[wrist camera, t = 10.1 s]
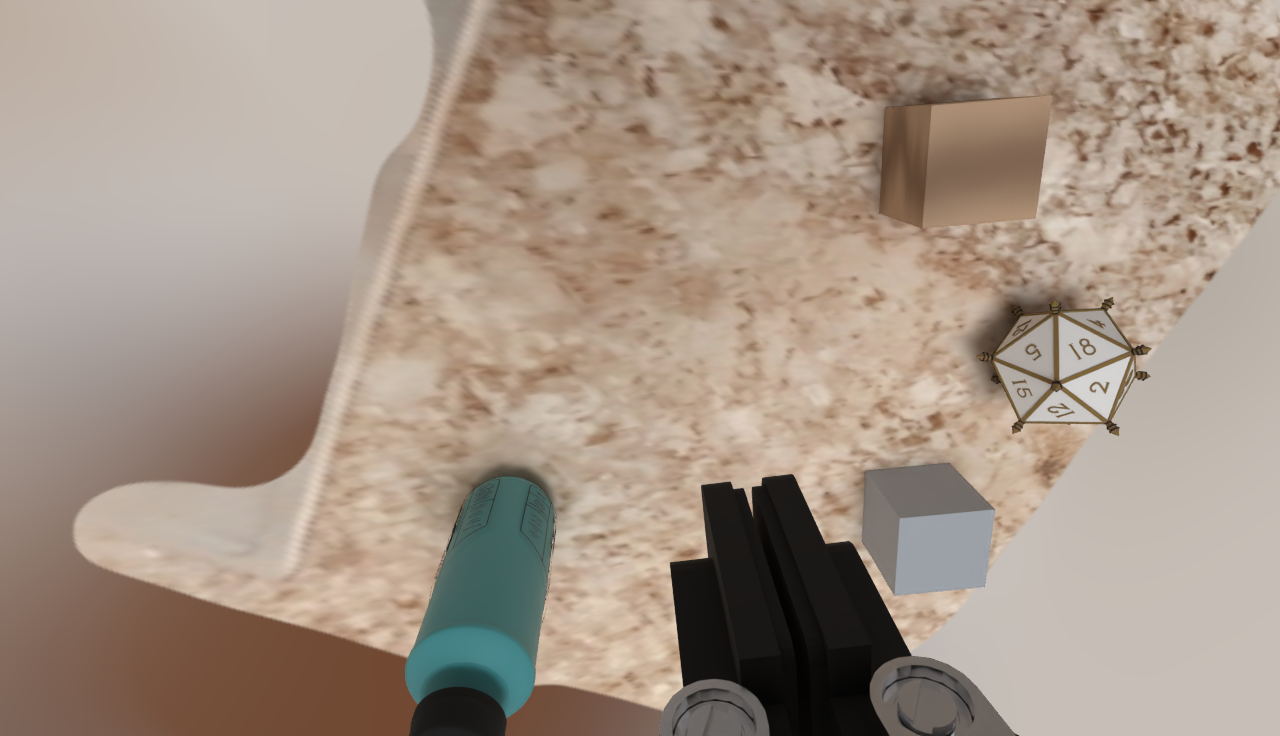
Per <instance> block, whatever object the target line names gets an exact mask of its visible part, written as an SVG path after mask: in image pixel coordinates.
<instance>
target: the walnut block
mask: <svg viewBox="0 0 1280 736" xmlns="http://www.w3.org/2000/svg"><path fill="white" fill-rule="evenodd" d="M1052 96H1053V95H1048V96H1030V97H1011V98H993V99H979V100H968V101H956V102H944V103H933V104H921V105H909V106H898V107H886V108H885V114H884V133H883V152H882V172H881V191H880V210H879V213H880V214H883V215H886V216H889V217H892V218H895V219H897V220H900V221H903V222H906V223H909V224H912V225H914V226H917V227H920V228H932V227H943V226H955V225H966V224H978V223H989V222H1001V221H1012V220H1024V219H1035V218H1036V212H1037V205H1038V197H1039V190H1040V183H1041V176H1042V168H1043V161H1044V154H1045V147H1046V139H1047V132H1048V125H1049V117H1050V110H1051V103H1052Z"/></svg>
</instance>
